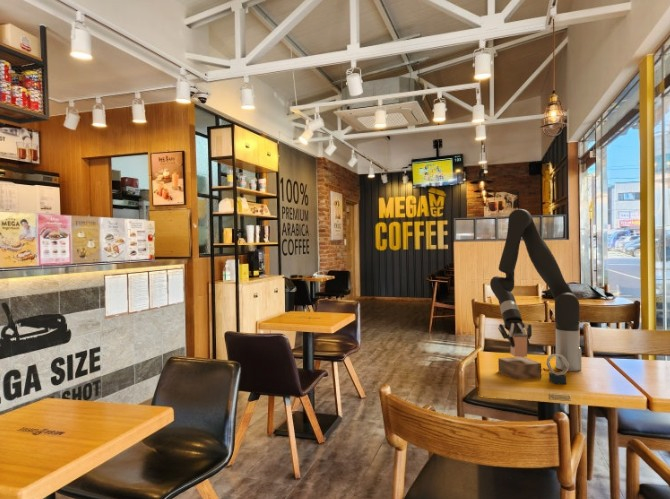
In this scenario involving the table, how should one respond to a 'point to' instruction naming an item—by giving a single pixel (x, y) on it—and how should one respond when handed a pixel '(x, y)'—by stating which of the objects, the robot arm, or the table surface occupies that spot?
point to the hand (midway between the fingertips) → (520, 346)
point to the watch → (558, 376)
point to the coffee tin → (519, 345)
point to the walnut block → (519, 367)
